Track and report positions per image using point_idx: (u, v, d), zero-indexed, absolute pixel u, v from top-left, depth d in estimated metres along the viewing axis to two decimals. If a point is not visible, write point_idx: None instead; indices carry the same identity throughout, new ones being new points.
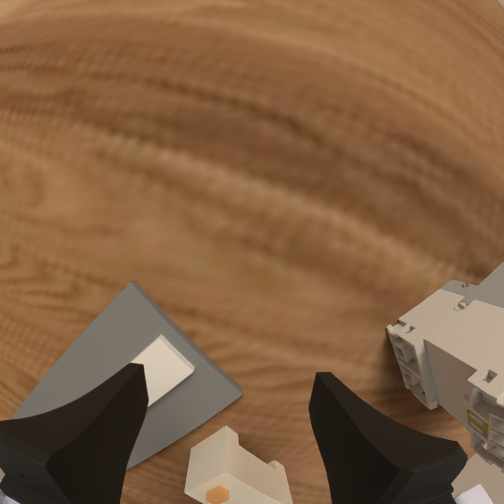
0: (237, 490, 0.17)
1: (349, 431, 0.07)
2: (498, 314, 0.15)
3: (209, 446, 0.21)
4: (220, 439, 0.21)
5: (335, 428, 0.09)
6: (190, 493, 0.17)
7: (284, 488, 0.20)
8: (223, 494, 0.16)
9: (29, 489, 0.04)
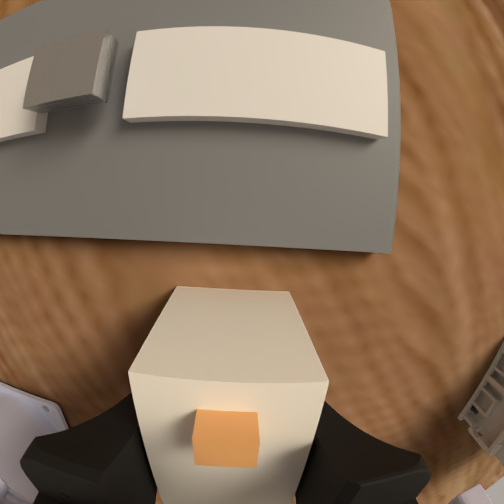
0: (272, 447, 0.07)
1: None
2: None
3: (237, 304, 0.10)
4: (277, 305, 0.10)
5: None
6: (143, 385, 0.06)
7: None
8: None
9: None
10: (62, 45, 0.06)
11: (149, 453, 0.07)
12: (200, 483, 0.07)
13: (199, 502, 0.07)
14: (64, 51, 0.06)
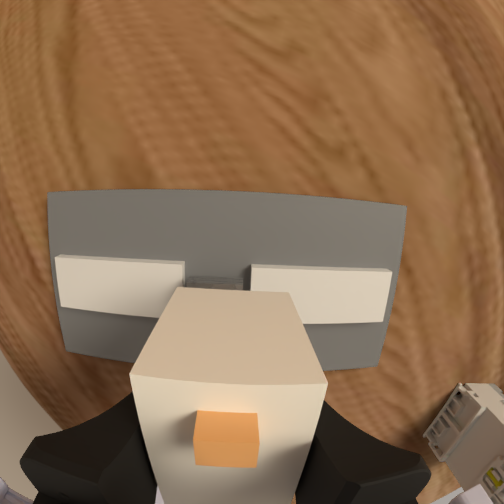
0: (271, 447, 0.07)
1: None
2: None
3: (237, 306, 0.10)
4: (277, 306, 0.10)
5: None
6: (144, 387, 0.06)
7: None
8: None
9: None
10: (211, 288, 0.16)
11: (150, 453, 0.07)
12: (201, 482, 0.07)
13: (200, 501, 0.07)
14: None
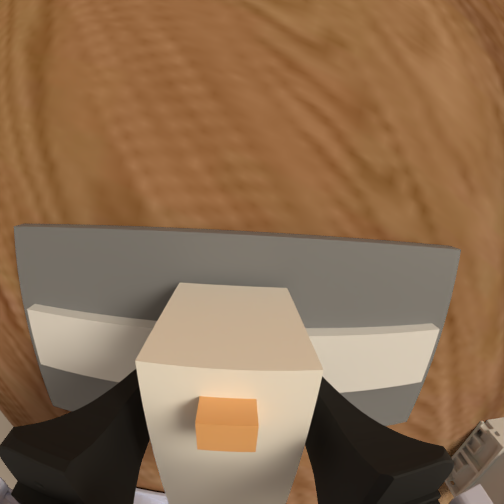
0: (270, 434, 0.07)
1: (334, 433, 0.07)
2: None
3: (238, 300, 0.11)
4: (275, 301, 0.11)
5: (321, 429, 0.09)
6: (149, 374, 0.07)
7: None
8: None
9: (43, 496, 0.04)
10: None
11: (153, 441, 0.07)
12: (201, 471, 0.07)
13: (201, 491, 0.08)
14: None
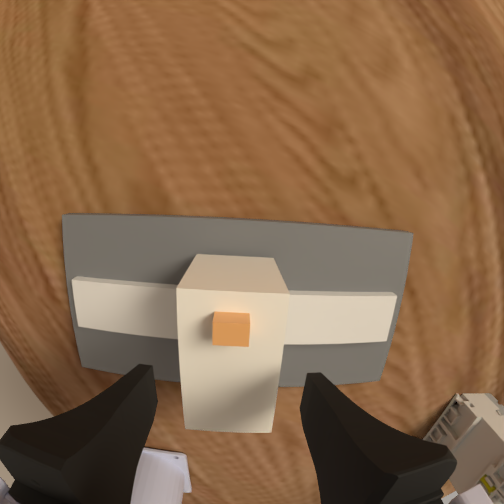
0: (259, 343, 0.12)
1: (337, 433, 0.07)
2: None
3: (238, 263, 0.16)
4: (264, 264, 0.16)
5: (324, 429, 0.09)
6: (184, 297, 0.12)
7: None
8: None
9: (40, 495, 0.04)
10: None
11: (180, 353, 0.12)
12: (212, 380, 0.13)
13: (210, 402, 0.13)
14: None
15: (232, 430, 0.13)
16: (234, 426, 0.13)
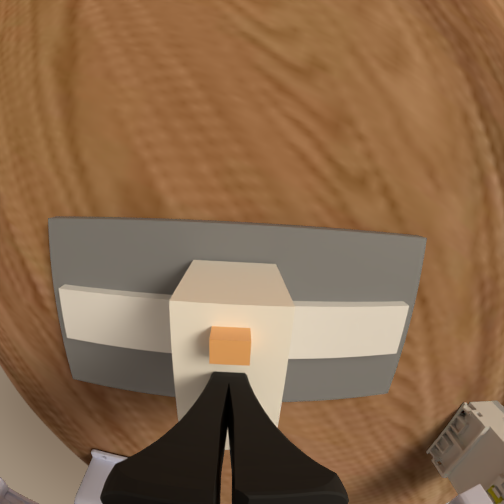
0: (260, 360, 0.11)
1: None
2: None
3: (238, 270, 0.15)
4: (266, 271, 0.15)
5: (232, 432, 0.08)
6: (177, 310, 0.10)
7: None
8: None
9: None
10: None
11: (175, 369, 0.11)
12: None
13: None
14: None
15: None
16: None
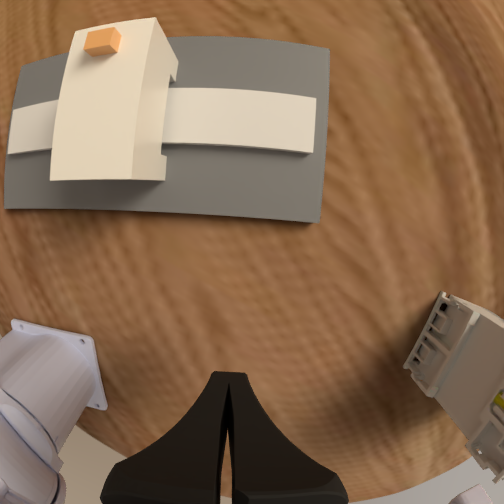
0: (125, 59, 0.10)
1: None
2: None
3: None
4: None
5: (232, 432, 0.08)
6: (78, 36, 0.10)
7: (148, 164, 0.14)
8: (114, 36, 0.09)
9: None
10: None
11: (63, 81, 0.10)
12: (81, 104, 0.11)
13: (75, 134, 0.11)
14: None
15: (91, 176, 0.11)
16: (93, 168, 0.11)
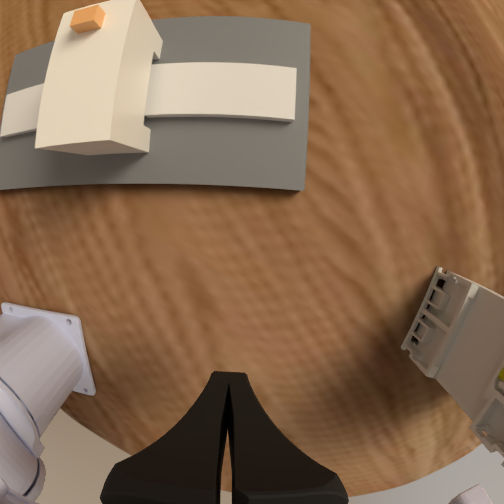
0: (108, 32, 0.10)
1: None
2: None
3: None
4: None
5: (232, 432, 0.08)
6: (66, 17, 0.09)
7: (129, 130, 0.13)
8: (97, 13, 0.09)
9: None
10: None
11: (51, 57, 0.10)
12: (66, 75, 0.10)
13: (60, 103, 0.11)
14: None
15: (73, 140, 0.11)
16: (75, 133, 0.11)
